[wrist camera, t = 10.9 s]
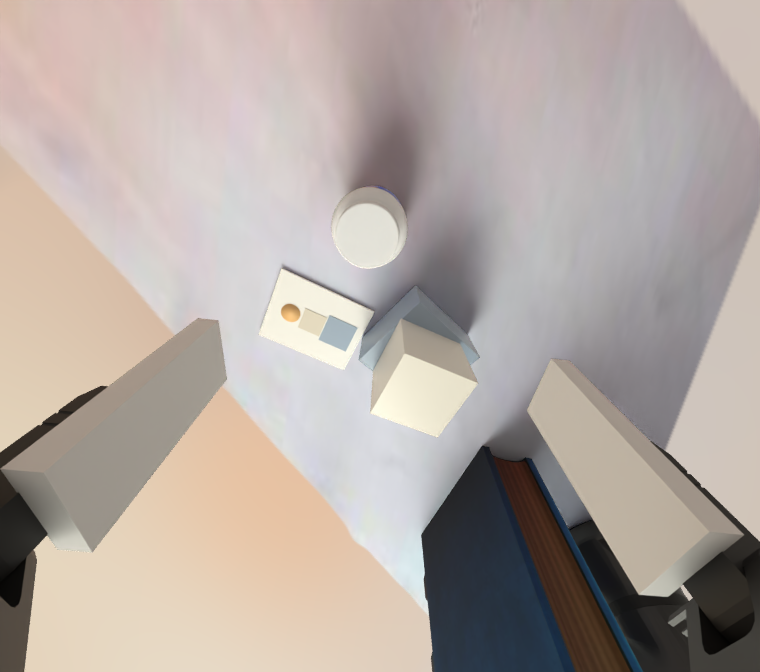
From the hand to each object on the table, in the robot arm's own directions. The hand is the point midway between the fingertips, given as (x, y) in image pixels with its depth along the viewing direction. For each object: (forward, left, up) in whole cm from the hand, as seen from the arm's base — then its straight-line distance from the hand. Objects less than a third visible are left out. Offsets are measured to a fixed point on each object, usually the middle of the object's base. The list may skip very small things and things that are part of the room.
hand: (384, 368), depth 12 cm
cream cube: (-6, +6, -14) cm, 16 cm away
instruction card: (+4, +9, -19) cm, 21 cm away
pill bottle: (+3, -3, -19) cm, 19 cm away
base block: (-6, +6, -19) cm, 21 cm away
